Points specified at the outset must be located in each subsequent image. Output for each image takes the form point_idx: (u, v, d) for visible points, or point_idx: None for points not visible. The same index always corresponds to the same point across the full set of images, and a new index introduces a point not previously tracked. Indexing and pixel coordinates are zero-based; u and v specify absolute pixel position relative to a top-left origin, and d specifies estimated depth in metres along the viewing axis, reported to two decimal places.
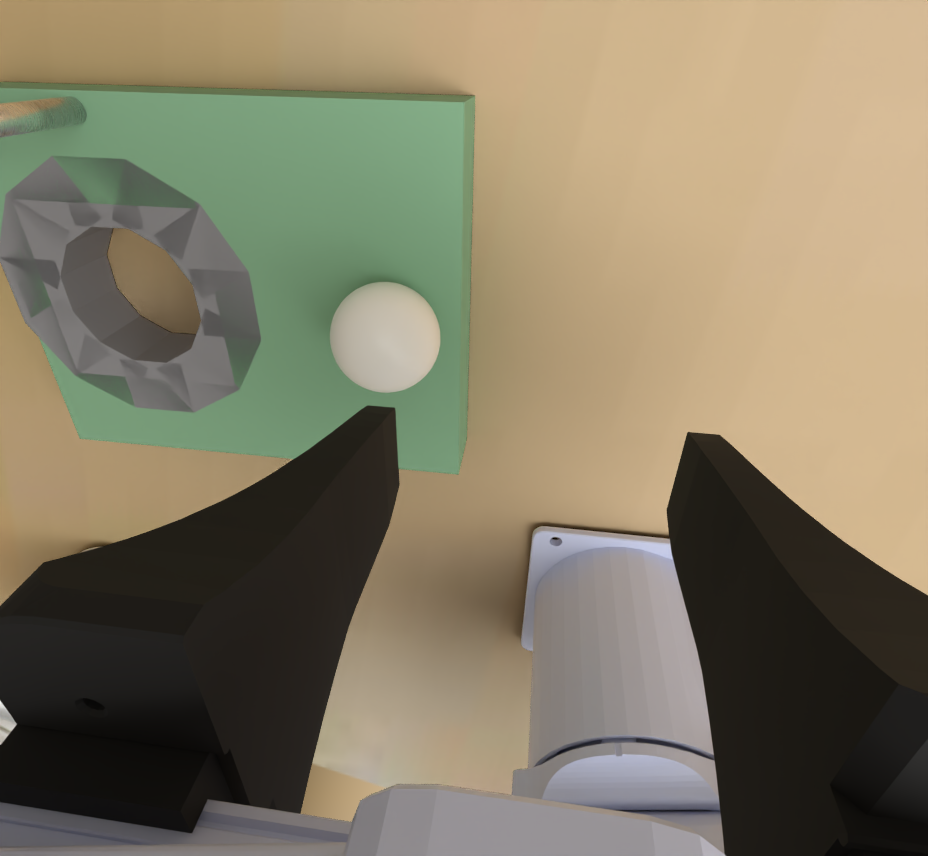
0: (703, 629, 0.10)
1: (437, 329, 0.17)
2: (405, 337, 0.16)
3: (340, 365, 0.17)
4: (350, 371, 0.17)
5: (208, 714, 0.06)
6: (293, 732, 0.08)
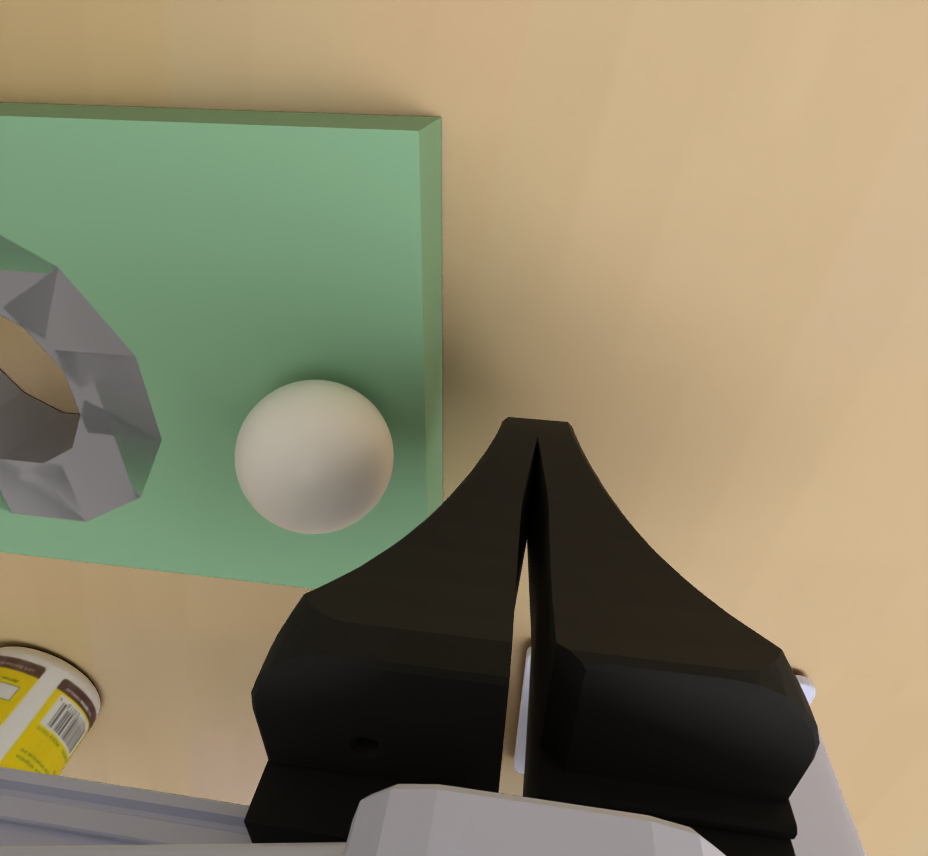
0: (533, 609, 0.10)
1: (387, 448, 0.12)
2: (336, 470, 0.11)
3: None
4: (261, 512, 0.12)
5: (500, 756, 0.06)
6: None
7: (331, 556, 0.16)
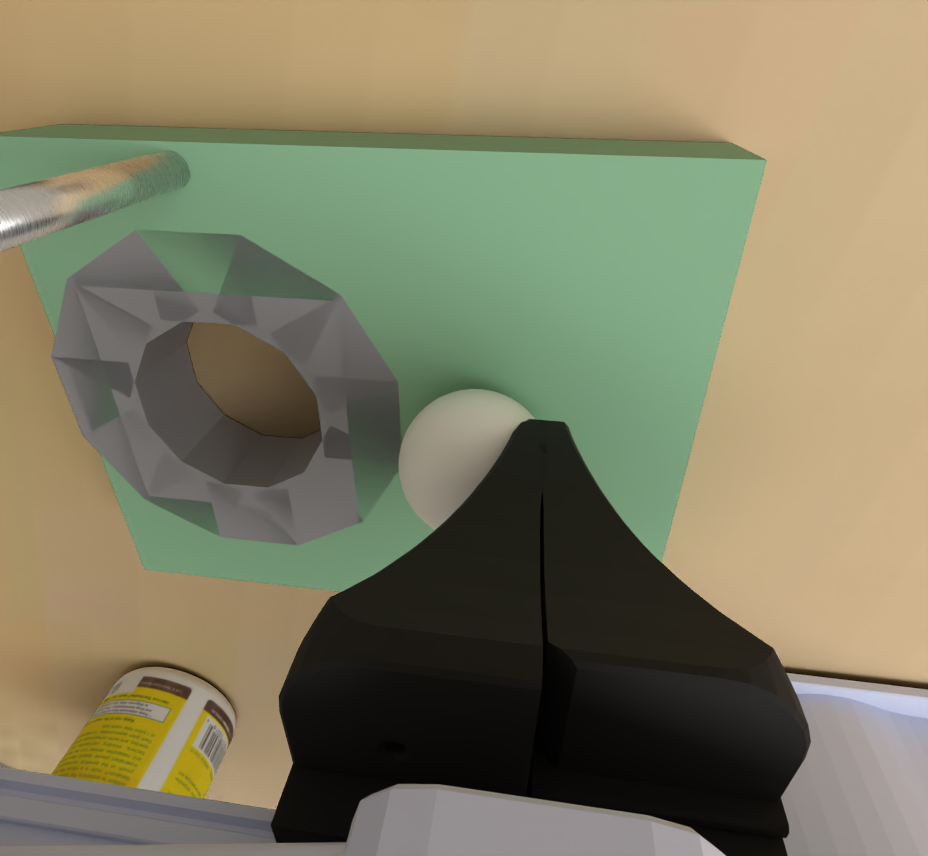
0: None
1: (449, 489, 0.11)
2: (408, 447, 0.12)
3: None
4: None
5: (530, 759, 0.06)
6: None
7: None
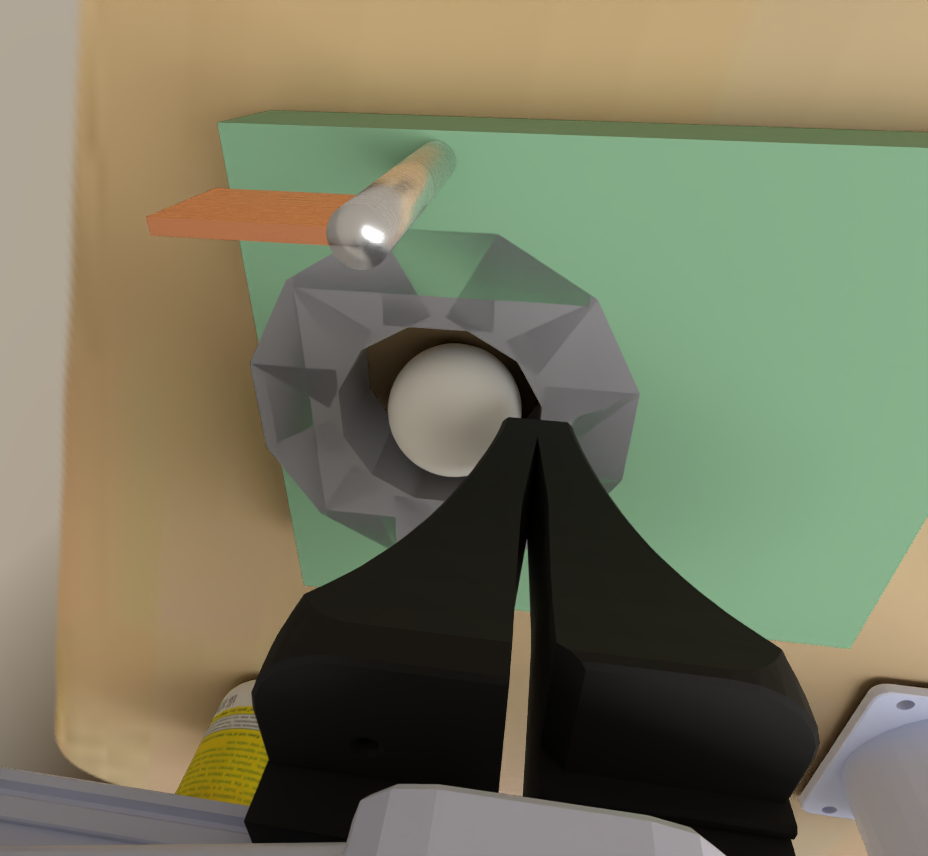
0: (532, 609, 0.10)
1: None
2: (512, 379, 0.14)
3: None
4: None
5: (501, 756, 0.06)
6: None
7: (758, 601, 0.15)
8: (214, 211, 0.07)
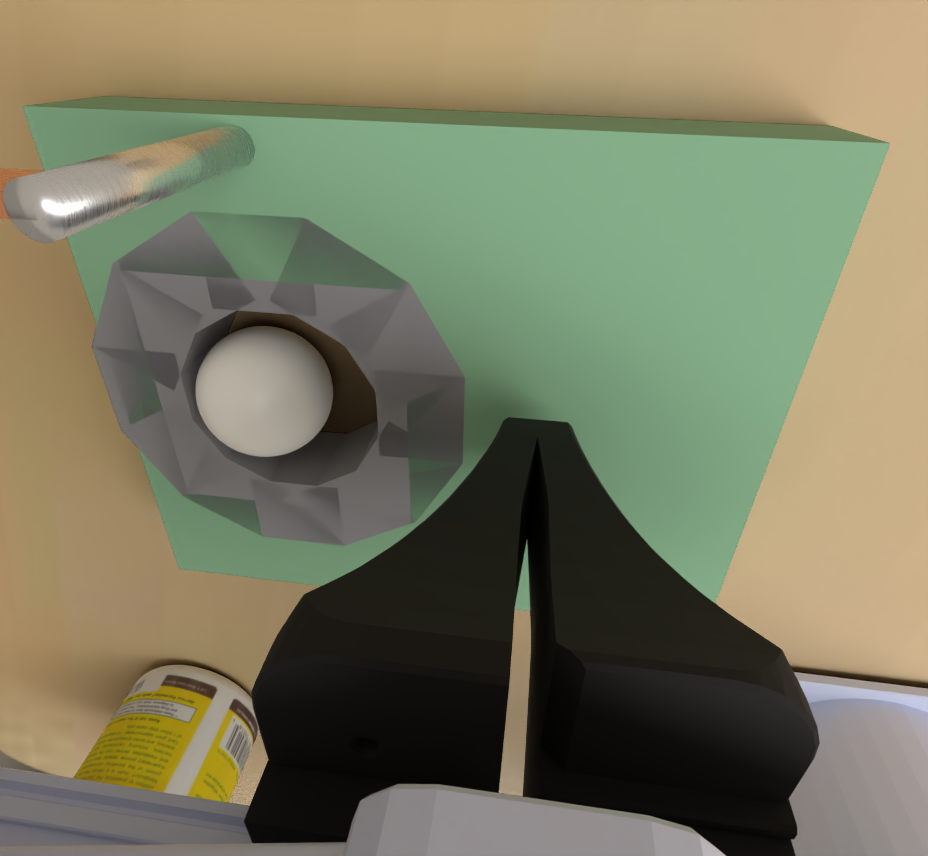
0: (533, 609, 0.10)
1: None
2: (315, 378, 0.14)
3: (248, 446, 0.14)
4: (268, 445, 0.14)
5: (500, 756, 0.06)
6: None
7: None
8: None
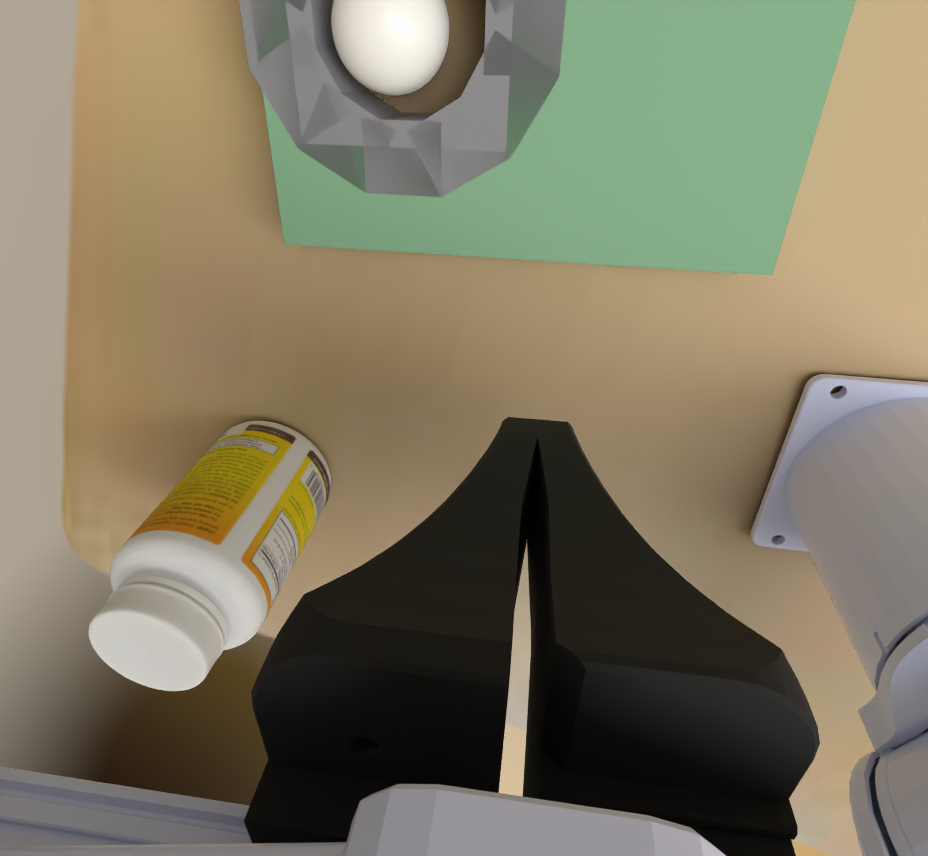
0: (533, 609, 0.10)
1: None
2: None
3: (391, 55, 0.15)
4: (408, 55, 0.15)
5: (501, 756, 0.06)
6: None
7: (687, 220, 0.17)
8: None
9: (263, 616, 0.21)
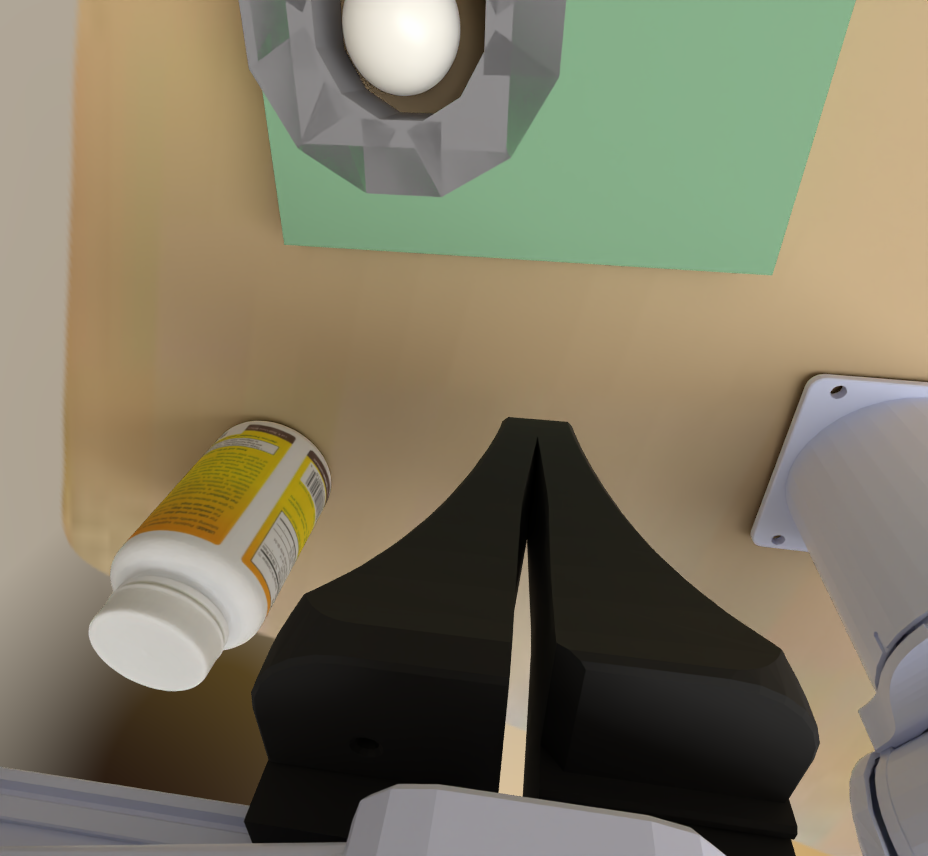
0: (533, 609, 0.10)
1: None
2: (454, 0, 0.16)
3: (414, 55, 0.15)
4: (430, 55, 0.15)
5: (501, 756, 0.06)
6: None
7: (687, 220, 0.17)
8: None
9: (263, 616, 0.21)
